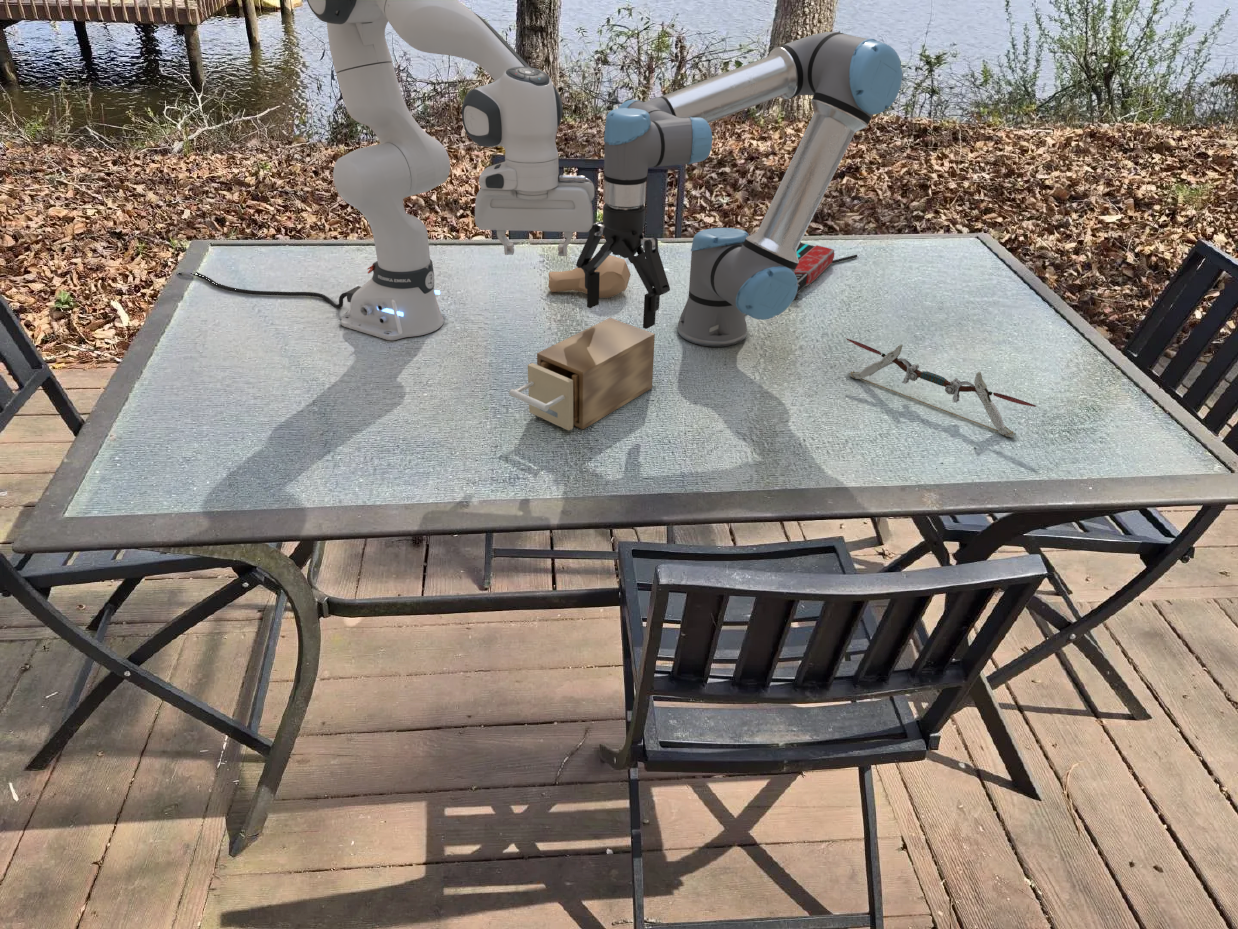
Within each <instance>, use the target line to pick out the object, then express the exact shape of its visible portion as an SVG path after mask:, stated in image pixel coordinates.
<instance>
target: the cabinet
mask: <svg viewBox="0 0 1238 929" xmlns="http://www.w3.org/2000/svg"><path fill="white" fill-rule="evenodd" d="M655 338H656V333H654V332H652V331H651V332H650V331H648V330H646V329H644V328H640V327H637V326H635V325H632V324H629V323H626V322H624V321H620V320H617V319H615V318H612V317H608V318H607V319H604V320H603V321H600V322H598V323H596V324H594V325H592V326H590V327H589V328H586V329H584V330H582V331H580V332H578V333H576V334H573V335H571V336H570V337H568V338H565V339H563V340H562V341H559V342H557V343H555V344H553V345H551V346H549V347H547V348H545V349H543V350H541V351H538V352H537V353H536V365H538V366H541V362H543V361H546V362H549V363H551V364H554V365H556V366H558V367H561V368H563V369H566V370H568V371H570V372H573V373H575V374H578V375H579V420H578V421H576V422H574V421H573V427H576V428H578V429H580V430H585V429H587V428H589V427H590V426H591V425H594V424H595V423H597V422H598V421H600V420H602V419H603V418H605V417H607V416H608V415H610V414H612V413H613V412H615V411H617V410H618V409H621V407H623V406H626V405H627V404H628V403H630V402H631V401H634V400H635V399H636V398H639V397H640V396H642V395H643V394H645V393H646V392H648V391H650V390H651V389H653V379H654V378H653V377H654V361H655V360H654V358H655V357H654V356H655V341H656V340H655Z"/></svg>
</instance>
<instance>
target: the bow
mask: <svg viewBox="0 0 1238 929" xmlns="http://www.w3.org/2000/svg"><path fill="white" fill-rule="evenodd" d="M845 340H846V341H847V342H850V343H852V344H853V345H855V346H857V347H859V348H860V349H861V348H862V349H864V350H866V351H869V352H871V353H874V354H876V355H880V357H881V358H882V359H881V360H878V361H876V362H873V363H872V364H870V365H868V366H866V367H865V368H864V369H862V370H861V371H855V370H853V371H850V372H848V374H847V375H848V376H849V377H851V378H853V379H855V380H861V381H864V382H867V383H869V384H872V385H874V386H877V387H880V388H882V389H886V390H887V391H890V392H893V393H896V394H898V395H901V396H904V397H906V398H909V399H912V400H914V401H916V402H919V403H922V404H924V405H927V406H929V407H933V408H936V409H937V410H941V411H943V412H946V413H948V414H951V415H954V416H956V417H959V418H962V419H964V420H967V421H969V422H971V423H974V424H977V425H980V426H982V427H985V428H988V429H991V430H992V431H995V432H998V433H999V434H1001V435H1003V436H1005V437H1007V438H1014V436H1015V435H1016V433H1015V432H1014V431H1013V430H1011V429H1010V428H1009V427H1007V426H1006V425H1005V424H1004V420H1003V418H1002V415H1001V413H1000V411H999V409H998V408H997V406H996V405H995V403H994V402H993V401H992V399H991V396H992V395H993V396H994V397H996V398H999V399H1002V400H1005V401H1008V402H1011V403H1015V404H1019V405H1022V406H1028V407H1033V408H1034V407H1035V408H1036V407H1037V404H1033V403H1030V402H1027V401H1026V400H1025V401H1024V400H1022V399H1020V398H1016V397H1013V396H1010V395H1006V394H1003V393H1000V392H999V393H998V392H993V391H991V390H990V391H989V389H988V386H987V384H986V382H985V381H984V379H983V375H982V371H977V372H976V373H975V377H974V382H973V383H972V382H970V381H968V380H964V381H961V380H960V379H958V378H957V377H954V379H953V380H951V381H949V380H947V378H946V377H944V376H942V375H939V374H937V373H933V372H930V371H927V370H926V371H925V370H922V371H921V370H919V368H920V365H919V364H918V363H917V364H912V363H911V362H910V361H909V360H908V359H906V358H902V357H899V356H900V355H901V354H902V349H903V344H898V345H897V347H896V348H895V349H894V350H891V351H889V352H888V353H887V354H886V353H884V352H881V351H880V350H877V349H876V348H873V347H871V346H869V345H867V344H864V343H861V342H859V341H856V340H853V339H850V338H846V337H845ZM898 357H899V358H898ZM892 364H893V365H894V364H896V366H897V367H898V368H900V369H901V370H902V371H903V372H905V375H904V377H903V380H902V381H901V383H902V384H904V385H907V384H908V383H909V382H910V381H912V382H916V381H917V380H918V379H922V380H923V381H926V382H929V383H932V384H935V385H937V386H940V387H945V388H944V391H945V393H946V394H947V395H951V396H952V395H953V396H952V403H955V404H957V403H958V402H960V392H961V393H968V392H969V393H970V392H971V393H972V392H974V393H975V394H976V395H977V397H978V399H979V400H980V402H981V404H982V405H983V407H984V409H985V412H986V414H987V416H988V417H989V419H990V422H991V423H992V425H993V426H994V428H993V427H990V426H988V425H985V424H982V423H981V422H977V421H975V420H972V419H969V418H967V417H964V416H962V415H959V414H956V413H954V412H951V411H948V410H945V409H943V408H940V407H939V406H935V405H933V404H930V403H927V402H924V401H922V400H920V399H916V398H914V397H911V396H909V395H906V394H904V393H902V392H898V391H896V390H893V389H890V388H888V387H885V386H882V385H880V384H877V383H875V382H872V381H870V380H867V379H865V378H867V377H871V376H872V375H874V374H875V373H877V372H878V371H880V370H882V369H884V368H886V367H888V366H890V365H892Z"/></svg>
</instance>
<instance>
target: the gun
mask: <svg viewBox="0 0 1238 929" xmlns="http://www.w3.org/2000/svg"><path fill="white" fill-rule="evenodd" d="M796 253H797V257H798V260H799V263H798V265H797V267H796V269H795V271H794V274H795V275H796V277H797V280H798V282H797V285H798V290H797V293H796V296H795V298H794V300H797V299H799V293H800V292H801V291H802V290H803V289H804V288H805V287H808V286H809V285H811V284H812V283H813V282H814V281H815V280H817V278H819V277H820V275H822V274H823V273H824V271H826V270H827V268H829V266H831V265H832V264H833V263H832V261H833V260H835V259H834V258H835V249H833V248H830V247H827V246H821V245H812V244H810V243H809V244H808V243H804V242H802V241H801V242H800V244H799V246H798V248H797V250H796ZM831 263H832V264H831Z"/></svg>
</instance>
